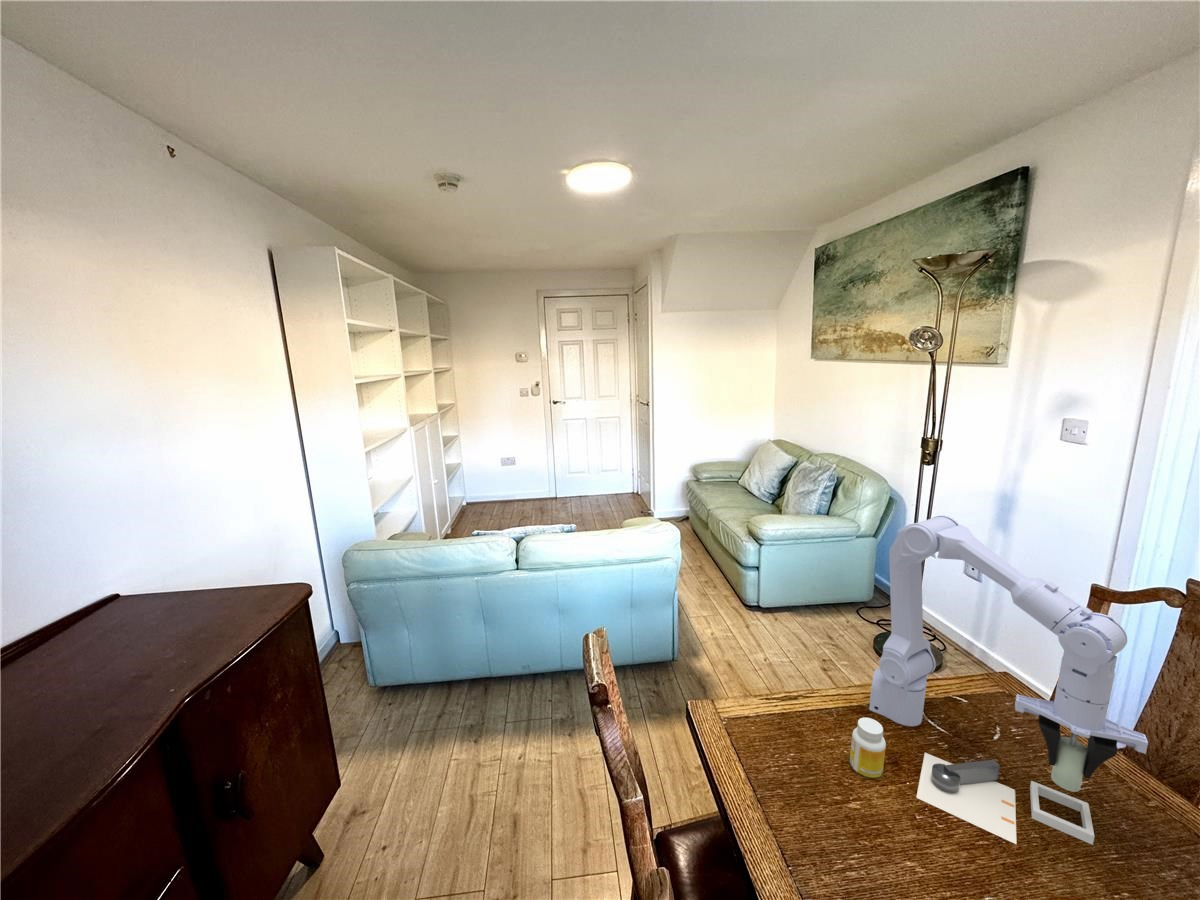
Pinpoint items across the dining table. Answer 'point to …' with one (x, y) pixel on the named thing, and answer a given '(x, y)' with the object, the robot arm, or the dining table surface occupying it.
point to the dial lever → (963, 774)
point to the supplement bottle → (868, 748)
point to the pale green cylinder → (1069, 763)
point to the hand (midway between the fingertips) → (1068, 767)
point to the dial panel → (972, 801)
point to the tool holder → (1058, 823)
